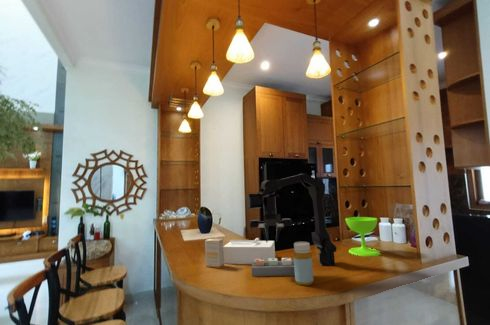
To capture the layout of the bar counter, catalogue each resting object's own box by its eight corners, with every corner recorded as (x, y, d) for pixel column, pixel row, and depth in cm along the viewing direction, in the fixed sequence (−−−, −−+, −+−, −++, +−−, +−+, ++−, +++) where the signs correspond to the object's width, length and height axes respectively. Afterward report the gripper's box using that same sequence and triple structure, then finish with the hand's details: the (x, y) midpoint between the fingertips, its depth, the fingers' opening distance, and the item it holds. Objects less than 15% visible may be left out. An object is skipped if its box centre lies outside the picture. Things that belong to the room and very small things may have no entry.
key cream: (290, 262, 111) (290, 257, 111) (291, 264, 107) (291, 259, 107) (281, 262, 111) (281, 257, 111) (282, 265, 107) (282, 260, 108)
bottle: (293, 280, 99) (290, 242, 100) (310, 278, 99) (307, 240, 101) (298, 286, 92) (295, 245, 94) (316, 285, 93) (313, 244, 94)
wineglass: (343, 253, 133) (340, 219, 135) (355, 247, 144) (352, 216, 146) (374, 258, 122) (370, 221, 124) (385, 251, 133) (381, 217, 134)
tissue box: (271, 265, 120) (270, 242, 121) (223, 264, 126) (222, 242, 127) (275, 256, 134) (273, 236, 135) (231, 256, 140) (230, 236, 141)
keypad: (294, 268, 113) (293, 260, 113) (296, 275, 104) (295, 266, 104) (253, 269, 114) (252, 261, 115) (252, 276, 106) (251, 267, 106)
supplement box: (224, 265, 123) (223, 238, 124) (219, 268, 119) (218, 240, 120) (210, 263, 126) (209, 238, 128) (205, 266, 122) (204, 240, 123)
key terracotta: (264, 262, 112) (264, 257, 112) (264, 265, 108) (264, 260, 108) (255, 263, 112) (255, 258, 112) (255, 265, 108) (254, 260, 108)
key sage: (277, 262, 111) (277, 257, 112) (277, 265, 107) (277, 260, 108) (268, 262, 112) (268, 257, 112) (268, 265, 108) (268, 260, 108)
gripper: (248, 209, 105) (250, 247, 103) (292, 208, 104) (294, 245, 102) (250, 207, 116) (251, 241, 114) (289, 206, 115) (291, 240, 113)
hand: (271, 242), depth 111 cm, fingers open, 4 cm apart
